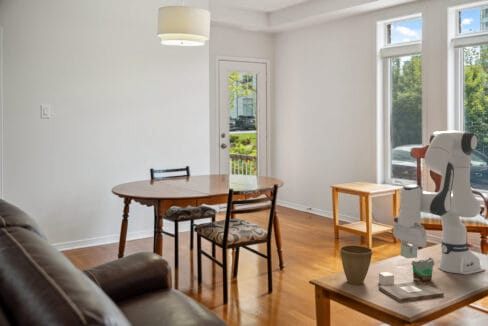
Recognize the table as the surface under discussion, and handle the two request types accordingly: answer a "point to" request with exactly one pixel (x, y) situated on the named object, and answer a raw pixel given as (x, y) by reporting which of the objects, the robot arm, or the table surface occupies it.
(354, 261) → the plant pot
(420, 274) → the food container
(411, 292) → the board
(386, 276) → the cream block
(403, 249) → the sage green block
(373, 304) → the table surface
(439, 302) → the table surface
